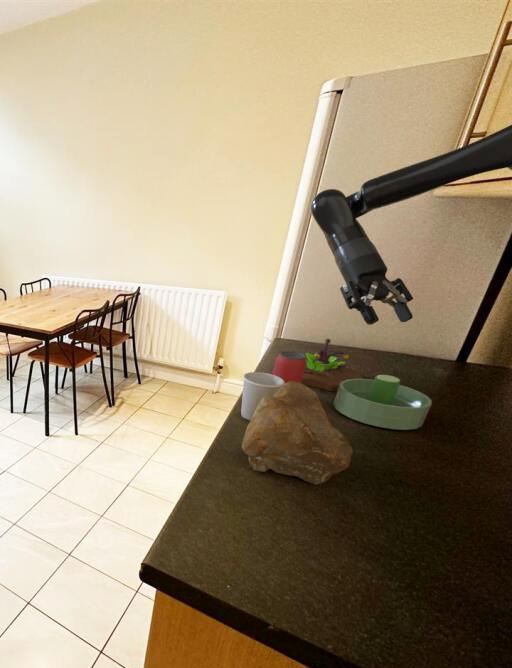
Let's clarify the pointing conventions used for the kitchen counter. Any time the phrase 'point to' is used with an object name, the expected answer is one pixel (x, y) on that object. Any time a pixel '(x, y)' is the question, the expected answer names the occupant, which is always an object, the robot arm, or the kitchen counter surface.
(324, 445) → the rough brown rock
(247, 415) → the dixie cup
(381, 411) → the bowl
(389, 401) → the green cylinder
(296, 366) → the beer can
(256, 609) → the kitchen counter surface
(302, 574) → the kitchen counter surface
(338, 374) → the plant
